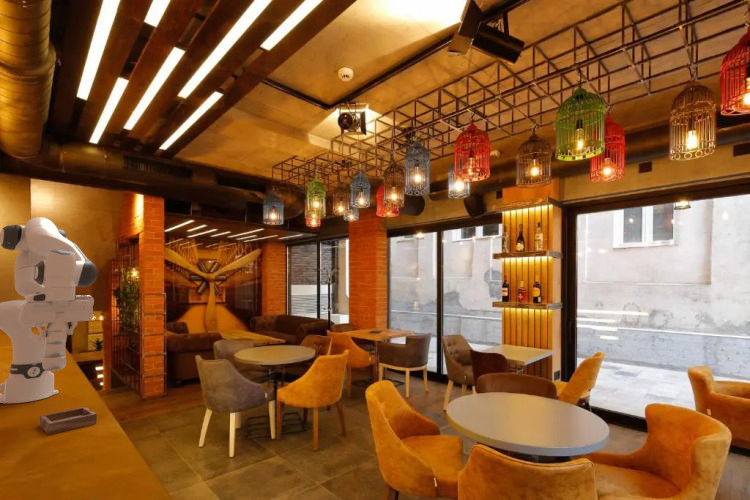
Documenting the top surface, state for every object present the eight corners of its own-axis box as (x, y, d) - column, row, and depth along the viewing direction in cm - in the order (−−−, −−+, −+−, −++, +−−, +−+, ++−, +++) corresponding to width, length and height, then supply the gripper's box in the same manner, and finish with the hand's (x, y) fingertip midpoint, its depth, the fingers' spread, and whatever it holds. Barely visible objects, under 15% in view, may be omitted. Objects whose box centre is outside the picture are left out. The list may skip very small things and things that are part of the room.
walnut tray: (39, 425, 124) (40, 416, 124) (84, 415, 133) (85, 406, 133) (48, 434, 116) (49, 424, 117) (96, 423, 126) (96, 413, 126)
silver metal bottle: (52, 373, 130) (57, 313, 131) (36, 371, 132) (41, 312, 133) (70, 368, 137) (75, 311, 138) (55, 367, 138) (59, 310, 139)
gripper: (91, 294, 146) (89, 332, 145) (18, 296, 130) (15, 338, 129) (97, 295, 142) (94, 333, 141) (22, 296, 126) (19, 339, 125)
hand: (56, 335), depth 135 cm, fingers closed on silver metal bottle, 6 cm apart
